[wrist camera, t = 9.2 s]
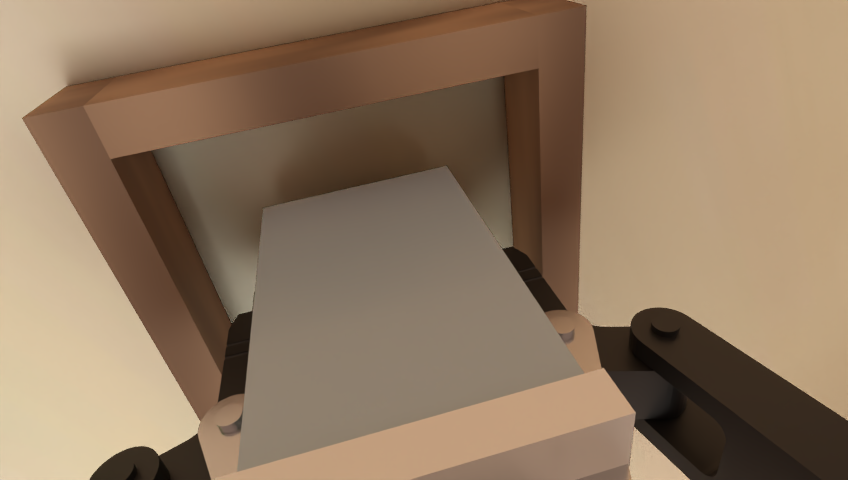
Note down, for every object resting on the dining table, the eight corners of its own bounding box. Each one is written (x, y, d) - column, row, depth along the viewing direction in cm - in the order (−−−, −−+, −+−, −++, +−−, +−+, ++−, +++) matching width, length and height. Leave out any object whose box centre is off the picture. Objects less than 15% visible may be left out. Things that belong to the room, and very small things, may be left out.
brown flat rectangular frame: (541, -6, 14) (586, 5, 12) (549, 476, 26) (571, 524, 24) (65, 86, 13) (21, 117, 10) (308, 550, 25) (310, 607, 23)
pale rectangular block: (452, 157, 14) (635, 412, 7) (471, 308, 17) (612, 603, 9) (253, 202, 13) (206, 539, 6) (307, 351, 16) (322, 701, 9)
